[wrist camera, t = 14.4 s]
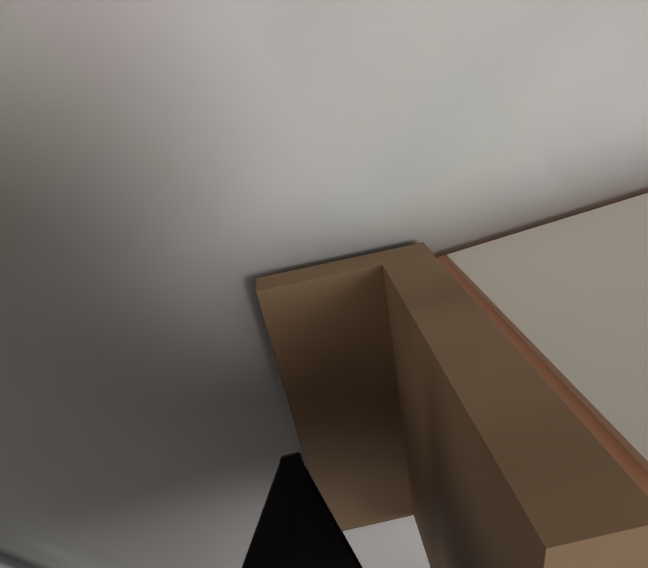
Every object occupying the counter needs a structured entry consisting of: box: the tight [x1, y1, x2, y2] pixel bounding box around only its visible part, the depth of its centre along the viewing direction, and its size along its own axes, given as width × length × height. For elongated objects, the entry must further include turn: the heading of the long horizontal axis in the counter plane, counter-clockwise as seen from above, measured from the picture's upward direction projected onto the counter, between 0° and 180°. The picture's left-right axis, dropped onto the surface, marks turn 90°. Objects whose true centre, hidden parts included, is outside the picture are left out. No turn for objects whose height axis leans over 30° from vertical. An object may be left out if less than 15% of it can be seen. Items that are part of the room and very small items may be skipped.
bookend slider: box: [256, 242, 648, 568], centre depth 8 cm, size 8×4×6 cm, turn 10°
